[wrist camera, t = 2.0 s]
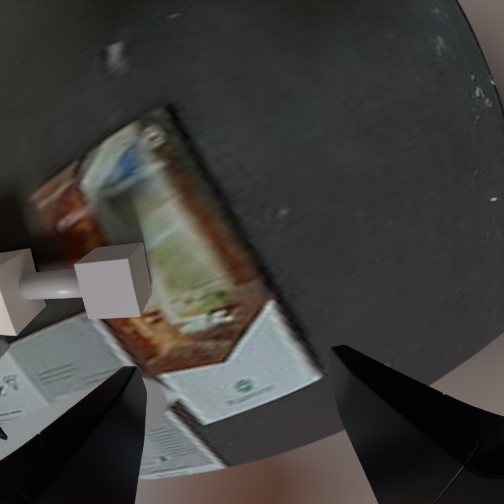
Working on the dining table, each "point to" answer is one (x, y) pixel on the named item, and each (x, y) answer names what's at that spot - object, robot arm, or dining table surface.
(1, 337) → the white block
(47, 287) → the plug
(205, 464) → the dining table surface
